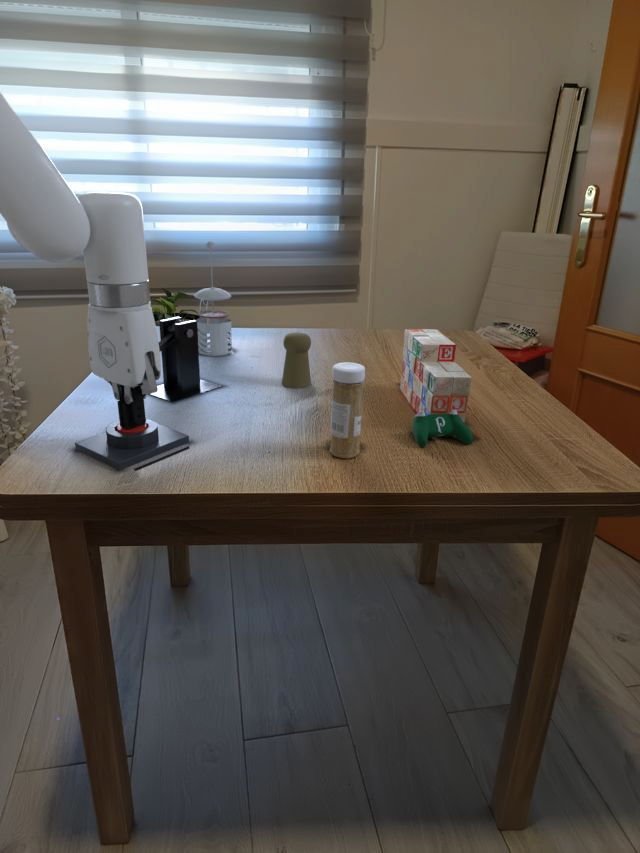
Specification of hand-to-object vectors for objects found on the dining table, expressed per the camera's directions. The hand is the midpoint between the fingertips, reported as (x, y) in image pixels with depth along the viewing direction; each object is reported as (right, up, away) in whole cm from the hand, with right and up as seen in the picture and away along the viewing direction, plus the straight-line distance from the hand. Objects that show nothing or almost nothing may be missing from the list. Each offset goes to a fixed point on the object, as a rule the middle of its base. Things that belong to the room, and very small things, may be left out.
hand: (133, 425), depth 81 cm
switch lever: (-2, +12, +18) cm, 22 cm away
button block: (0, -4, +1) cm, 4 cm away
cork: (+22, +7, +30) cm, 38 cm away
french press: (+2, +16, +51) cm, 53 cm away
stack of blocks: (+46, +3, +23) cm, 52 cm away
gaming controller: (+45, -2, +10) cm, 46 cm away
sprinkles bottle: (+30, -4, +4) cm, 31 cm away
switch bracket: (+1, +6, +25) cm, 26 cm away
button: (0, -2, +1) cm, 2 cm away
